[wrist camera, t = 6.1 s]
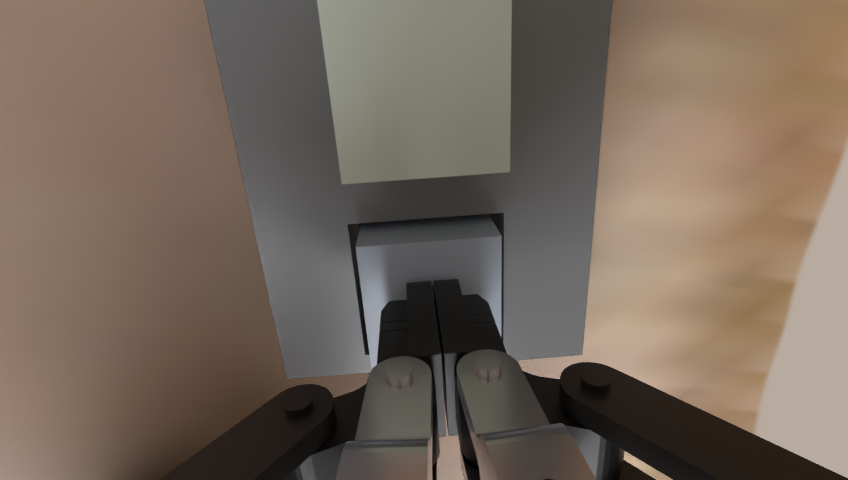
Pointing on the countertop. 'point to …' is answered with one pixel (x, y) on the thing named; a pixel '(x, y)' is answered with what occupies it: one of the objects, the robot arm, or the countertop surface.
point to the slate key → (427, 262)
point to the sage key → (418, 87)
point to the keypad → (415, 198)
